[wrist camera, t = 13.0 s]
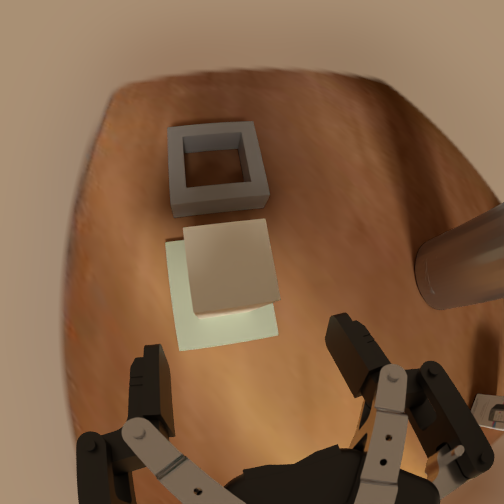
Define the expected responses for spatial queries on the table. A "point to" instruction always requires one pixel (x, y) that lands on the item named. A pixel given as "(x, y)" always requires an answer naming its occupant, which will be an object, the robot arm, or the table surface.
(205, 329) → the mat
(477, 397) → the ink box
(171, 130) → the grey square frame
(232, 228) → the cream carton
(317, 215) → the table surface
